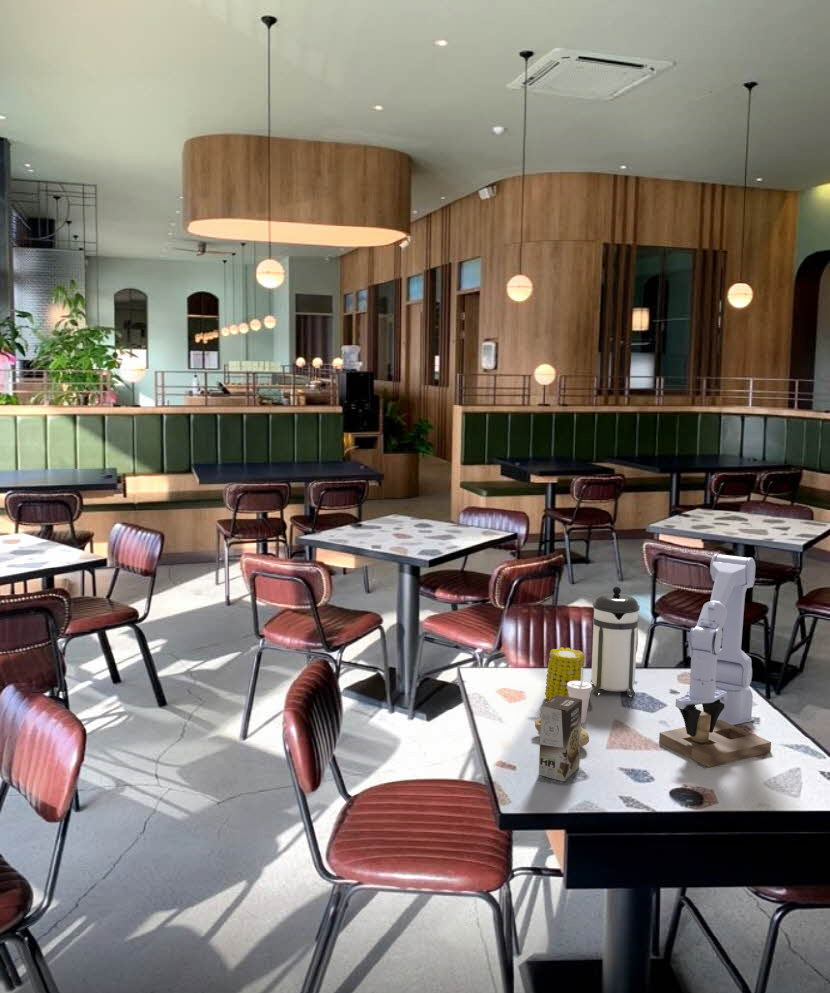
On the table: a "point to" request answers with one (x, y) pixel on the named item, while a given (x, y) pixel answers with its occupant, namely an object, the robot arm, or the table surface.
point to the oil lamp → (584, 734)
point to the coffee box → (560, 737)
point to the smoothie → (580, 693)
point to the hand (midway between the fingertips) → (699, 733)
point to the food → (563, 670)
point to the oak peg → (702, 730)
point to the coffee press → (614, 642)
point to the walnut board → (717, 744)
